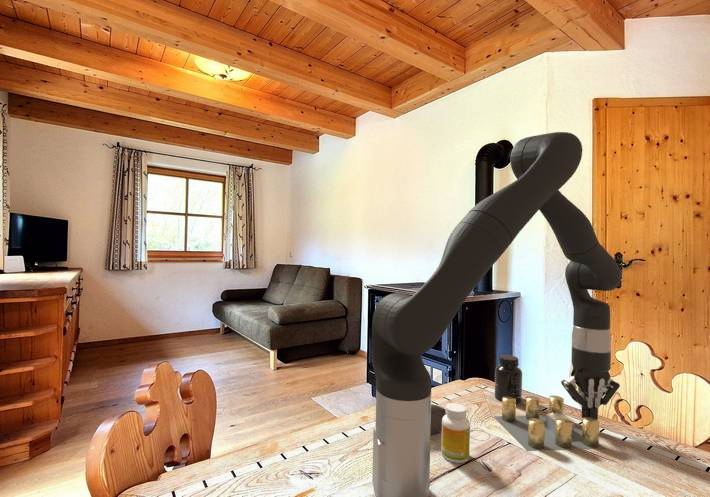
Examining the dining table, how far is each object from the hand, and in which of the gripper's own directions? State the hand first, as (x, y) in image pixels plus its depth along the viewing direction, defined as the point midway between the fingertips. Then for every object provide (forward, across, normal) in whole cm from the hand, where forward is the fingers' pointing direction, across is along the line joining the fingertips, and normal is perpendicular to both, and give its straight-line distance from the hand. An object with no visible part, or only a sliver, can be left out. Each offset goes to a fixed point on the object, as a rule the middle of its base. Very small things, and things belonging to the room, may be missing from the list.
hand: (589, 422), depth 83 cm
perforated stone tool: (+2, -39, +2) cm, 39 cm away
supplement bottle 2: (+2, -10, +18) cm, 20 cm away
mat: (+2, -14, 0) cm, 14 cm away
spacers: (+2, -10, 0) cm, 10 cm away
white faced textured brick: (+2, -7, 0) cm, 7 cm away
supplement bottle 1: (+2, -34, -8) cm, 35 cm away
